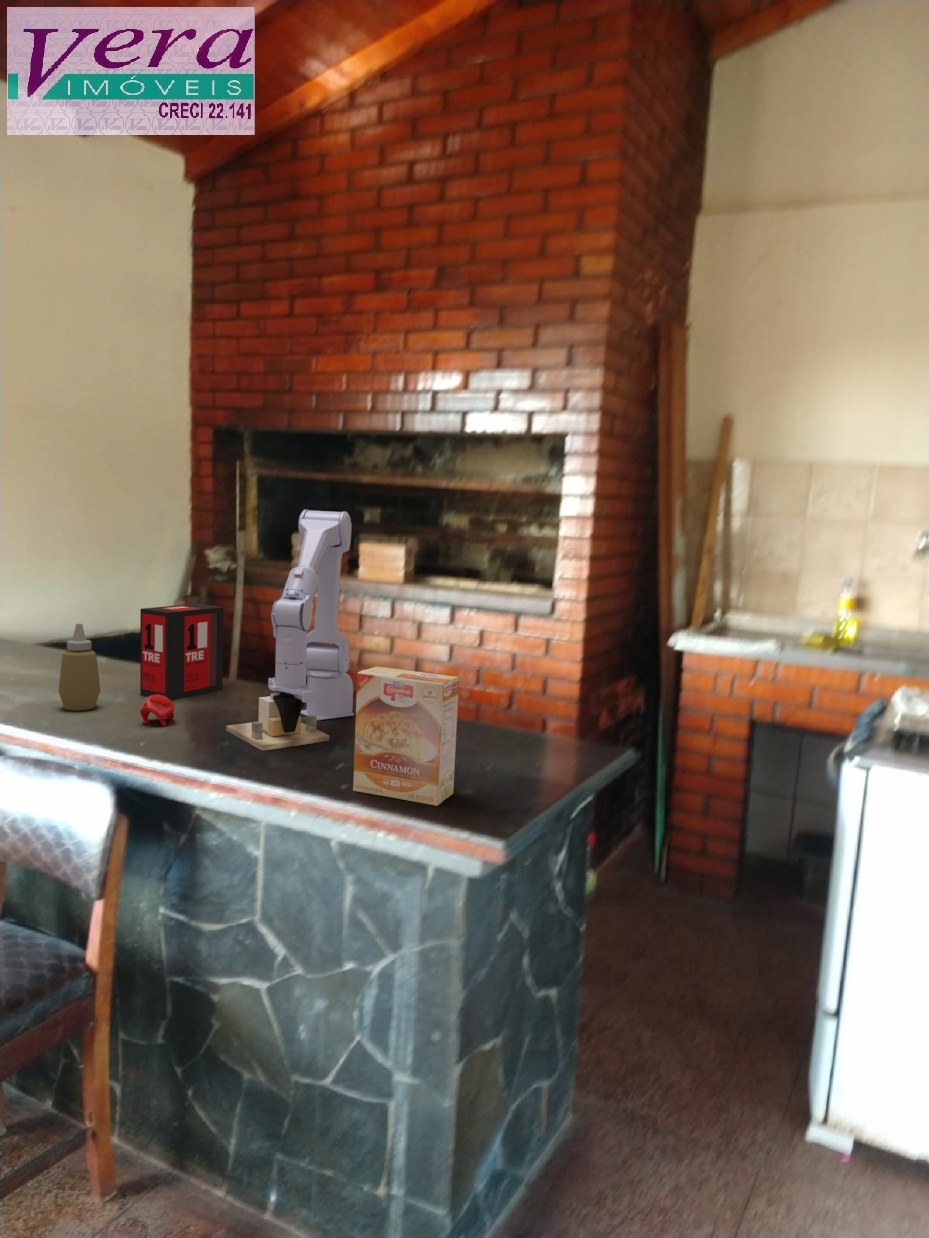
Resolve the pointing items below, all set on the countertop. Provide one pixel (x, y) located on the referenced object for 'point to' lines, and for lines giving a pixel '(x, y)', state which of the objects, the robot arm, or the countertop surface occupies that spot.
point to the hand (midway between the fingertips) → (289, 731)
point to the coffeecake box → (405, 734)
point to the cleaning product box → (181, 650)
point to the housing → (267, 710)
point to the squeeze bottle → (79, 674)
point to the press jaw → (280, 727)
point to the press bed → (264, 741)
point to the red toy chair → (158, 708)
